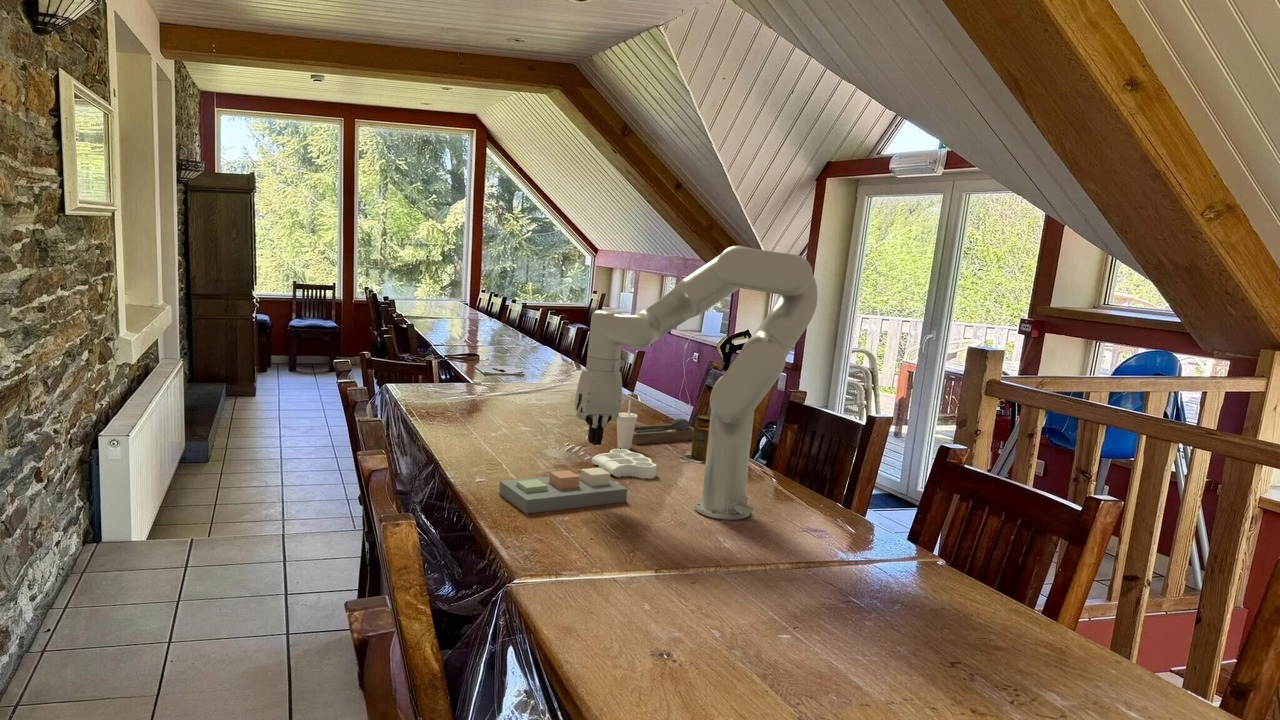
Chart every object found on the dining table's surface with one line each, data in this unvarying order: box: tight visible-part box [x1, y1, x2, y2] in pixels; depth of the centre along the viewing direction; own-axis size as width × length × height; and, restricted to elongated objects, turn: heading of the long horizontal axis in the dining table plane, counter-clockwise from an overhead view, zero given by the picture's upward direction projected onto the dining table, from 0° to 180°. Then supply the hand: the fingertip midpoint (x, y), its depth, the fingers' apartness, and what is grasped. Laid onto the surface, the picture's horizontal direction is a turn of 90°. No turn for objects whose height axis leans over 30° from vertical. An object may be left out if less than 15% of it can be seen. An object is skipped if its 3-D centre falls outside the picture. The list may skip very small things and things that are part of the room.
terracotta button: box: [549, 469, 580, 490], centre depth 181 cm, size 5×5×4 cm
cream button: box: [580, 466, 611, 486], centre depth 186 cm, size 5×5×4 cm
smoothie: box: [616, 399, 639, 450], centre depth 230 cm, size 6×6×14 cm
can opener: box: [634, 418, 690, 433], centre depth 245 cm, size 19×5×6 cm, turn 124°
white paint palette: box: [591, 448, 657, 479], centre depth 209 cm, size 3×18×15 cm
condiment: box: [679, 414, 711, 464], centre depth 226 cm, size 7×8×12 cm
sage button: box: [517, 479, 547, 493], centre depth 177 cm, size 5×5×4 cm
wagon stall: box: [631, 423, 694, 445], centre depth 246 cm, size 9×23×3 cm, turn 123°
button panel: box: [498, 472, 628, 515], centre depth 181 cm, size 14×25×3 cm, turn 123°
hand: (594, 443), depth 184 cm, fingers closed
